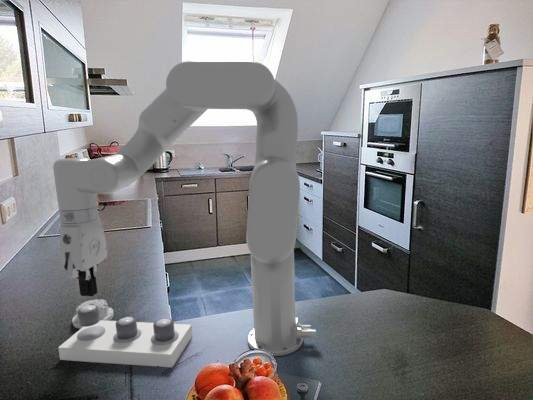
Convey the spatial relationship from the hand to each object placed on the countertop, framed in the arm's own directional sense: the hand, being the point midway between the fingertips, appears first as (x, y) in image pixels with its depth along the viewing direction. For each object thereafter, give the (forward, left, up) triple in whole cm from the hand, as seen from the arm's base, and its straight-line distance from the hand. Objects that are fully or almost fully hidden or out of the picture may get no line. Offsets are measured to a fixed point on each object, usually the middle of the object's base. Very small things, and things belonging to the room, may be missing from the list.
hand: (89, 294), depth 86 cm
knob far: (+1, 0, -7) cm, 7 cm away
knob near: (-17, 0, -9) cm, 20 cm away
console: (-8, 0, -13) cm, 15 cm away
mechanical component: (+8, -12, -13) cm, 20 cm away
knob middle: (-8, 0, -9) cm, 12 cm away
